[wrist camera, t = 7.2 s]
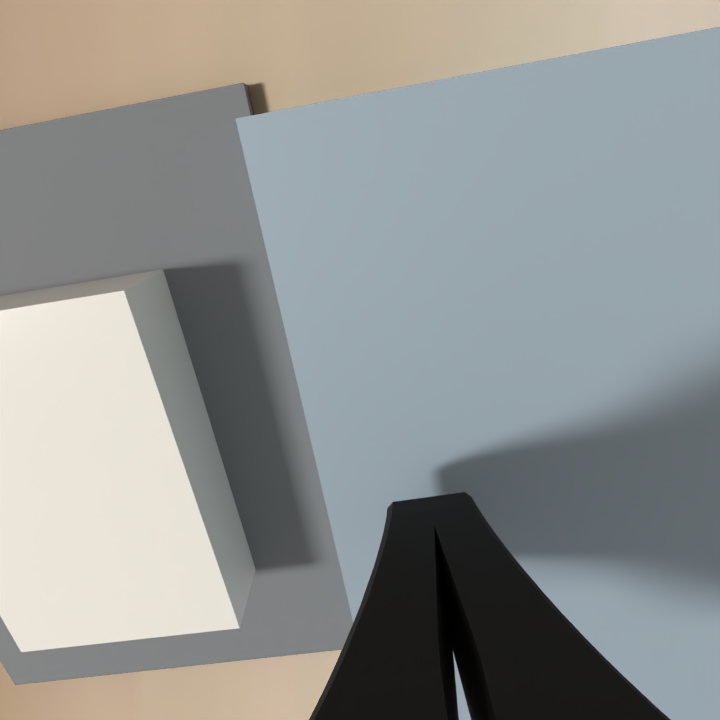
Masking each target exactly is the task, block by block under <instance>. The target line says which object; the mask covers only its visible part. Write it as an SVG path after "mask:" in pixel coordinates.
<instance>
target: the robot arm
mask: <svg viewBox="0 0 720 720" xmlns="http://www.w3.org/2000/svg"><path fill="white" fill-rule="evenodd" d="M453 653H454V656H455V660H456V664H457V668H458V672H459V676H460V679H461V683H462V687H463V691H464V695H465V699H466V702H467V706H468V710H469V714H470V718H471V720H671V719H669V718H668V717H667V716H666V715H665V714H664V713H663V712H662V711H660V710H659V709H658V708H657V707H656V706H655V705H654V704H653V703H652V702H651V701H650V700H649V699H648V698H646V697H645V696H644V695H643V694H642V693H641V692H640V691H639V690H638V689H637V688H636V687H635V686H634V685H633V684H632V683H630V682H629V681H628V680H627V679H626V678H625V677H624V676H623V675H622V674H621V673H620V672H619V671H618V670H617V669H616V668H615V667H614V666H613V665H612V664H611V663H610V662H609V661H608V660H607V659H606V658H605V657H604V656H603V655H602V654H601V653H600V652H599V651H598V650H597V649H596V648H595V647H594V646H593V645H592V644H591V643H590V642H589V641H588V640H587V639H586V638H585V637H584V636H583V635H582V634H581V633H580V632H579V631H578V630H577V628H576V627H575V626H574V625H573V624H572V623H571V622H570V621H569V620H568V619H567V618H566V617H565V616H564V615H563V614H562V613H561V611H560V610H559V609H558V608H557V607H556V606H555V605H554V604H553V603H552V601H551V600H550V599H549V598H548V597H547V596H546V595H545V594H544V593H543V591H542V590H541V589H540V588H539V587H538V585H537V584H536V583H535V582H534V581H533V579H532V578H531V577H530V576H529V575H528V574H527V572H526V571H525V570H524V569H523V568H522V566H521V565H520V564H519V563H518V562H517V560H516V559H515V558H514V557H513V555H512V554H511V553H510V552H509V550H508V549H507V548H506V547H505V545H504V544H503V543H502V541H501V540H500V539H499V537H498V536H497V535H496V533H495V532H494V531H493V529H492V528H491V526H490V525H489V523H488V522H487V521H486V519H485V518H484V516H483V515H482V513H481V512H480V510H479V508H478V507H477V505H476V504H475V502H474V500H473V498H472V497H471V496H470V495H468V494H467V493H465V492H461V493H454V494H447V495H439V496H432V497H425V498H417V499H410V500H402V501H395V502H392V503H391V505H390V506H389V507H388V508H387V516H386V522H385V527H384V531H383V536H382V540H381V543H380V547H379V550H378V554H377V557H376V561H375V564H374V567H373V570H372V573H371V576H370V579H369V582H368V585H367V588H366V590H365V593H364V596H363V599H362V602H361V605H360V607H359V610H358V613H357V615H356V618H355V620H354V622H353V625H352V627H351V630H350V632H349V634H348V637H347V639H346V642H345V644H344V646H343V649H342V651H341V654H340V656H339V658H338V661H337V663H336V665H335V667H334V670H333V672H332V674H331V676H330V678H329V680H328V682H327V685H326V687H325V689H324V691H323V693H322V695H321V697H320V699H319V701H318V703H317V705H316V707H315V709H314V711H313V713H312V715H311V717H310V719H309V720H459V716H458V704H457V692H456V680H455V669H454V657H453Z"/></svg>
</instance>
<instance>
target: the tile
mask: <svg viewBox="0 0 720 720" xmlns="http://www.w3.org/2000/svg"><path fill="white" fill-rule="evenodd" d="M255 570H256V569H255V566H254V562H253V559H252V556H251V553H250V549H249V546H248V543H247V540H246V536H245V533H244V530H243V527H242V523H241V520H240V517H239V514H238V510H237V507H236V504H235V501H234V498H233V494H232V491H231V488H230V485H229V481H228V478H227V475H226V472H225V468H224V465H223V462H222V459H221V455H220V452H219V449H218V446H217V442H216V439H215V436H214V433H213V430H212V426H211V423H210V420H209V417H208V413H207V410H206V407H205V404H204V400H203V397H202V394H201V391H200V387H199V384H198V381H197V378H196V374H195V371H194V368H193V365H192V362H191V358H190V355H189V352H188V349H187V345H186V342H185V339H184V336H183V332H182V329H181V326H180V323H179V319H178V316H177V313H176V310H175V306H174V303H173V300H172V297H171V294H170V290H169V287H168V284H167V281H166V277H165V274H164V271H163V270H157V271H150V272H144V273H138V274H132V275H126V276H120V277H114V278H108V279H102V280H95V281H89V282H83V283H77V284H71V285H65V286H59V287H53V288H47V289H40V290H34V291H28V292H22V293H16V294H10V295H4V296H0V616H1V618H2V620H3V622H4V623H5V625H6V627H7V628H8V630H9V632H10V634H11V635H12V637H13V639H14V641H15V642H16V644H17V646H18V647H19V649H20V651H21V652H28V651H37V650H46V649H55V648H64V647H74V646H83V645H92V644H101V643H110V642H119V641H128V640H137V639H146V638H156V637H165V636H174V635H183V634H192V633H201V632H210V631H219V630H228V629H238V628H240V625H241V622H242V618H243V614H244V611H245V607H246V603H247V600H248V596H249V592H250V589H251V585H252V581H253V577H254V574H255Z"/></svg>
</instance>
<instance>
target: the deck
mask: <svg viewBox="0 0 720 720" xmlns="http://www.w3.org/2000/svg"><path fill="white" fill-rule="evenodd" d="M236 123H237V128H238V132H239V136H240V140H241V145H242V149H243V153H244V158H245V162H246V166H247V170H248V175H249V179H250V183H251V187H252V192H253V196H254V200H255V205H256V209H257V213H258V217H259V222H260V226H261V230H262V235H263V239H264V243H265V247H266V252H267V256H268V260H269V264H270V269H271V273H272V277H273V282H274V286H275V290H276V294H277V299H278V303H279V307H280V311H281V316H282V320H283V324H284V329H285V333H286V337H287V341H288V346H289V350H290V354H291V358H292V363H293V367H294V371H295V376H296V380H297V384H298V388H299V393H300V397H301V401H302V406H303V410H304V414H305V418H306V423H307V427H308V431H309V435H310V440H311V444H312V448H313V453H314V457H315V461H316V465H317V470H318V474H319V478H320V482H321V487H322V491H323V495H324V500H325V504H326V508H327V512H328V517H329V521H330V525H331V529H332V534H333V538H334V542H335V547H336V551H337V555H338V559H339V564H340V568H341V572H342V576H343V581H344V585H345V589H346V594H347V598H348V602H349V606H350V611H351V615H352V619H353V622H354V620H355V618H356V615H357V613H358V610H359V607H360V605H361V602H362V599H363V596H364V593H365V590H366V588H367V585H368V582H369V579H370V576H371V573H372V570H373V567H374V564H375V561H376V557H377V554H378V550H379V547H380V543H381V540H382V536H383V531H384V527H385V522H386V516H387V508H388V507H389V506H390V505H391V503H392V502H395V501H402V500H410V499H417V498H425V497H432V496H439V495H447V494H454V493H461V492H465V493H467V494H468V495H470V496H471V497H472V498H473V500H474V502H475V504H476V505H477V507H478V508H479V510H480V512H481V513H482V515H483V516H484V518H485V519H486V521H487V522H488V523H489V525H490V526H491V528H492V529H493V531H494V532H495V533H496V535H497V536H498V537H499V539H500V540H501V541H502V543H503V544H504V545H505V547H506V548H507V549H508V550H509V552H510V553H511V554H512V555H513V557H514V558H515V559H516V560H517V562H518V563H519V564H520V565H521V566H522V568H523V569H524V570H525V571H526V572H527V574H528V575H529V576H530V577H531V578H532V579H533V581H534V582H535V583H536V584H537V585H538V587H539V588H540V589H541V590H542V591H543V593H544V594H545V595H546V596H547V597H548V598H549V599H550V600H551V601H552V603H553V604H554V605H555V606H556V607H557V608H558V609H559V610H560V611H561V613H562V614H563V615H564V616H565V617H566V618H567V619H568V620H569V621H570V622H571V623H572V624H573V625H574V626H575V627H576V628H577V630H578V631H579V632H580V633H581V634H582V635H583V636H584V637H585V638H586V639H587V640H588V641H589V642H590V643H591V644H592V645H593V646H594V647H595V648H596V649H597V650H598V651H599V652H600V653H601V654H602V655H603V656H604V657H605V658H606V659H607V660H608V661H609V662H610V663H611V664H612V665H613V666H614V667H615V668H616V669H617V670H618V671H619V672H620V673H621V674H622V675H623V676H624V677H625V678H626V679H627V680H628V681H629V682H630V683H632V684H633V685H634V686H635V687H636V688H637V689H638V690H639V691H640V692H641V693H642V694H643V695H644V696H645V697H646V698H648V699H649V700H650V701H651V702H652V703H653V704H654V705H655V706H656V707H657V708H658V709H659V710H660V711H662V712H663V713H664V714H665V715H666V716H667V717H668V718H669V719H671V720H720V27H716V28H711V29H706V30H700V31H695V32H690V33H685V34H679V35H674V36H669V37H664V38H658V39H653V40H648V41H642V42H637V43H632V44H627V45H621V46H616V47H611V48H605V49H600V50H595V51H590V52H584V53H579V54H574V55H569V56H563V57H558V58H553V59H547V60H542V61H537V62H532V63H526V64H521V65H516V66H510V67H505V68H500V69H495V70H489V71H484V72H479V73H474V74H468V75H463V76H458V77H452V78H447V79H442V80H437V81H431V82H426V83H421V84H415V85H410V86H405V87H400V88H394V89H389V90H384V91H379V92H373V93H368V94H363V95H357V96H352V97H347V98H342V99H336V100H331V101H326V102H320V103H315V104H310V105H305V106H299V107H294V108H289V109H284V110H278V111H273V112H268V113H262V114H257V115H252V116H247V117H241V118H236ZM453 657H454V669H455V680H456V692H457V704H458V716H459V720H471V718H470V714H469V710H468V706H467V702H466V699H465V695H464V691H463V687H462V683H461V679H460V676H459V672H458V668H457V664H456V660H455V656H454V653H453Z"/></svg>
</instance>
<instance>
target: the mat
mask: <svg viewBox="0 0 720 720" xmlns="http://www.w3.org/2000/svg"><path fill="white" fill-rule="evenodd" d="M252 115H253V111H252V107H251V102H250V98H249V93H248V89H247V85H246V84H244V83H240V84H235V85H230V86H225V87H220V88H215V89H209V90H204V91H199V92H194V93H189V94H184V95H179V96H174V97H168V98H163V99H158V100H153V101H148V102H143V103H138V104H132V105H127V106H122V107H117V108H112V109H107V110H102V111H96V112H91V113H86V114H81V115H76V116H71V117H66V118H60V119H55V120H50V121H45V122H40V123H35V124H30V125H24V126H19V127H14V128H9V129H4V130H0V296H4V295H10V294H16V293H22V292H28V291H34V290H40V289H47V288H53V287H59V286H65V285H71V284H77V283H83V282H89V281H95V280H102V279H108V278H114V277H120V276H126V275H132V274H138V273H144V272H150V271H157V270H163V271H164V274H165V277H166V281H167V284H168V287H169V290H170V294H171V297H172V300H173V303H174V306H175V310H176V313H177V316H178V319H179V323H180V326H181V329H182V332H183V336H184V339H185V342H186V345H187V349H188V352H189V355H190V358H191V362H192V365H193V368H194V371H195V374H196V378H197V381H198V384H199V387H200V391H201V394H202V397H203V400H204V404H205V407H206V410H207V413H208V417H209V420H210V423H211V426H212V430H213V433H214V436H215V439H216V442H217V446H218V449H219V452H220V455H221V459H222V462H223V465H224V468H225V472H226V475H227V478H228V481H229V485H230V488H231V491H232V494H233V498H234V501H235V504H236V507H237V510H238V514H239V517H240V520H241V523H242V527H243V530H244V533H245V536H246V540H247V543H248V546H249V549H250V553H251V556H252V559H253V562H254V566H255V569H256V570H255V574H254V577H253V581H252V585H251V589H250V592H249V596H248V600H247V603H246V607H245V611H244V614H243V618H242V622H241V625H240V628H238V629H228V630H219V631H210V632H201V633H192V634H183V635H174V636H165V637H156V638H146V639H137V640H128V641H119V642H110V643H101V644H92V645H83V646H74V647H64V648H55V649H46V650H37V651H28V652H21V651H20V649H19V647H18V646H17V644H16V642H15V641H14V639H13V637H12V635H11V634H10V632H9V630H8V628H7V627H6V625H5V623H4V622H3V620H2V618H1V616H0V661H1V663H2V664H3V666H4V667H5V669H6V671H7V672H8V674H9V676H10V677H11V679H12V681H13V682H14V684H15V685H19V684H29V683H38V682H47V681H56V680H65V679H75V678H84V677H93V676H102V675H112V674H121V673H130V672H139V671H148V670H158V669H167V668H176V667H185V666H194V665H204V664H213V663H222V662H231V661H240V660H250V659H259V658H268V657H277V656H286V655H296V654H305V653H314V652H323V651H332V650H342V649H343V646H344V644H345V642H346V639H347V637H348V634H349V632H350V630H351V627H352V625H353V619H352V615H351V611H350V606H349V602H348V598H347V594H346V589H345V585H344V581H343V576H342V572H341V568H340V564H339V559H338V555H337V551H336V547H335V542H334V538H333V534H332V529H331V525H330V521H329V517H328V512H327V508H326V504H325V500H324V495H323V491H322V487H321V482H320V478H319V474H318V470H317V465H316V461H315V457H314V453H313V448H312V444H311V440H310V435H309V431H308V427H307V423H306V418H305V414H304V410H303V406H302V401H301V397H300V393H299V388H298V384H297V380H296V376H295V371H294V367H293V363H292V358H291V354H290V350H289V346H288V341H287V337H286V333H285V329H284V324H283V320H282V316H281V311H280V307H279V303H278V299H277V294H276V290H275V286H274V282H273V277H272V273H271V269H270V264H269V260H268V256H267V252H266V247H265V243H264V239H263V235H262V230H261V226H260V222H259V217H258V213H257V209H256V205H255V200H254V196H253V192H252V187H251V183H250V179H249V175H248V170H247V166H246V162H245V158H244V153H243V149H242V145H241V140H240V136H239V132H238V128H237V123H236V118H241V117H247V116H252Z"/></svg>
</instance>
